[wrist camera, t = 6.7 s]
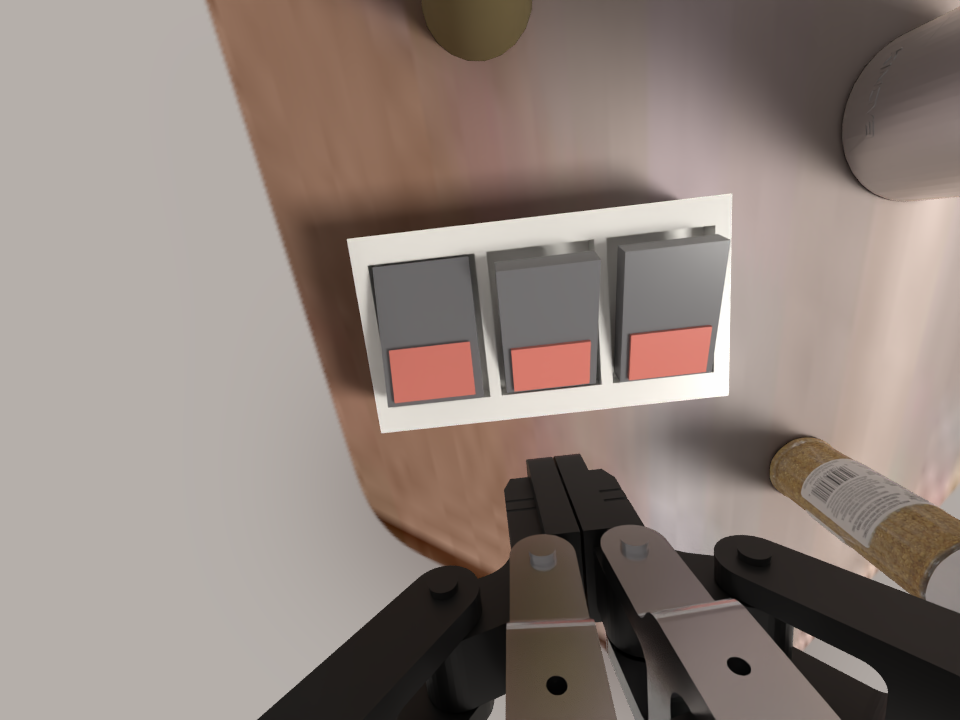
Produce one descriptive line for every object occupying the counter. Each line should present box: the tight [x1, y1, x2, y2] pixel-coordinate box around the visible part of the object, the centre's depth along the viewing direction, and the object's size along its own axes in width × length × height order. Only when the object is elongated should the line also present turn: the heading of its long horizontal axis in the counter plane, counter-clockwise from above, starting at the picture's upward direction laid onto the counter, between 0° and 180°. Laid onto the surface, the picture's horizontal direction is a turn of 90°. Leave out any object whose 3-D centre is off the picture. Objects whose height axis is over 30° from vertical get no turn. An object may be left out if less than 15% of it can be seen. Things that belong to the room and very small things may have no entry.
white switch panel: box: [347, 193, 732, 433], centre depth 27 cm, size 19×10×5 cm, turn 96°
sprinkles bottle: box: [770, 437, 960, 613], centre depth 25 cm, size 5×5×14 cm
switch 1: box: [372, 256, 484, 408], centre depth 23 cm, size 5×7×1 cm
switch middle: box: [494, 251, 601, 393], centre depth 23 cm, size 5×7×1 cm
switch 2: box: [614, 234, 731, 383], centre depth 23 cm, size 5×7×1 cm
